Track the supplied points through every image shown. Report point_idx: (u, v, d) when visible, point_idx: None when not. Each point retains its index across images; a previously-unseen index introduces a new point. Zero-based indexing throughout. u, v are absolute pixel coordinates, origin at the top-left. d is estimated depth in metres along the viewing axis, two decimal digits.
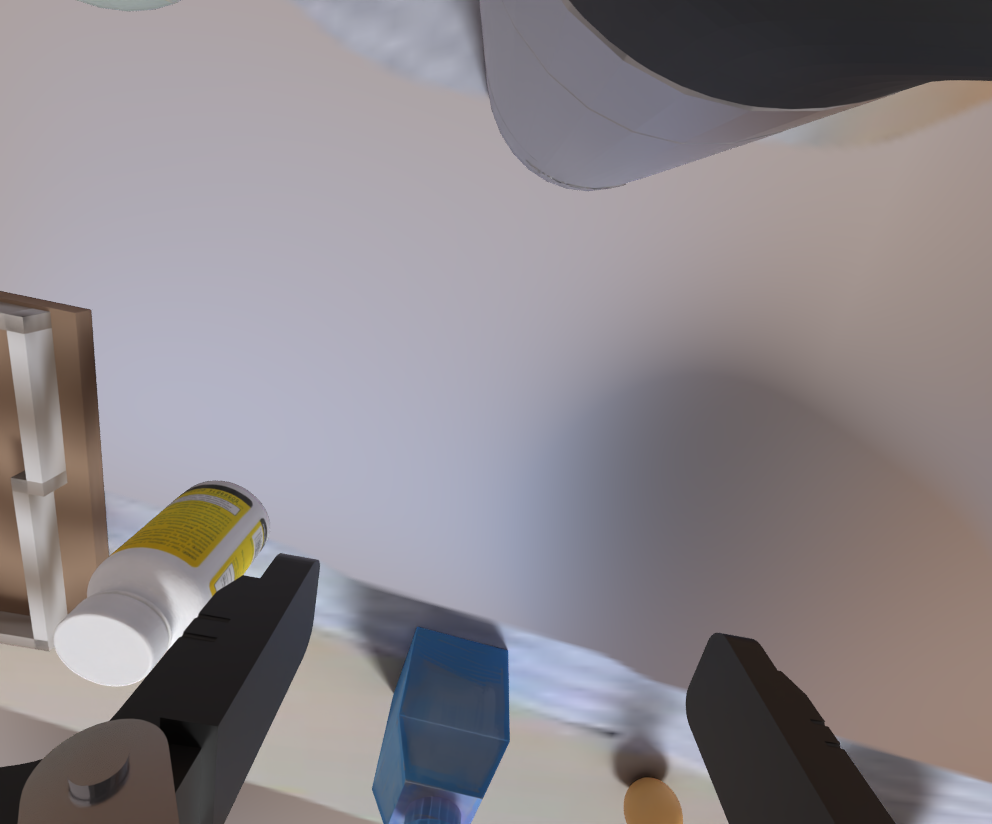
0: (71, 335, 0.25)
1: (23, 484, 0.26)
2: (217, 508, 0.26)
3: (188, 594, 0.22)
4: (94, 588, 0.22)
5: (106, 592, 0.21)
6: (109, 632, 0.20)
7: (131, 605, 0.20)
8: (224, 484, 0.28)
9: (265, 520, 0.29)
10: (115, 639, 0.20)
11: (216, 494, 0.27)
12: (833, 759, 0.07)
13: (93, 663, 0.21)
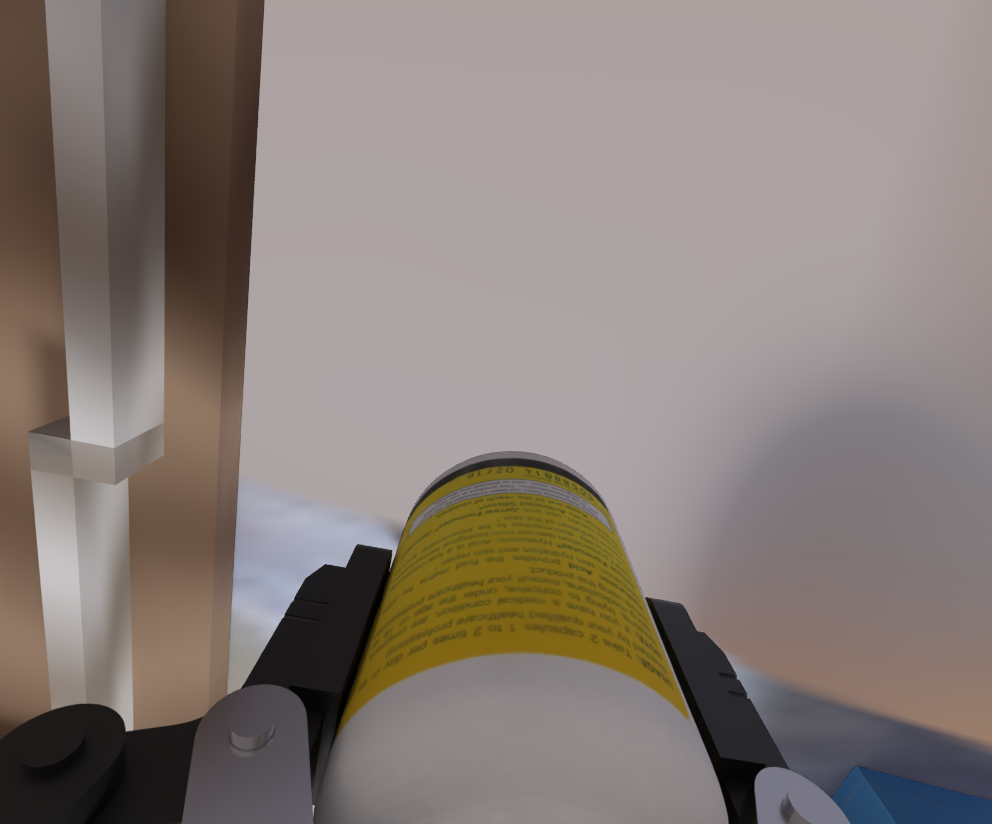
0: (219, 15, 0.09)
1: (61, 452, 0.10)
2: (582, 515, 0.10)
3: None
4: None
5: None
6: None
7: None
8: (539, 458, 0.12)
9: None
10: None
11: (548, 479, 0.11)
12: (731, 703, 0.08)
13: None
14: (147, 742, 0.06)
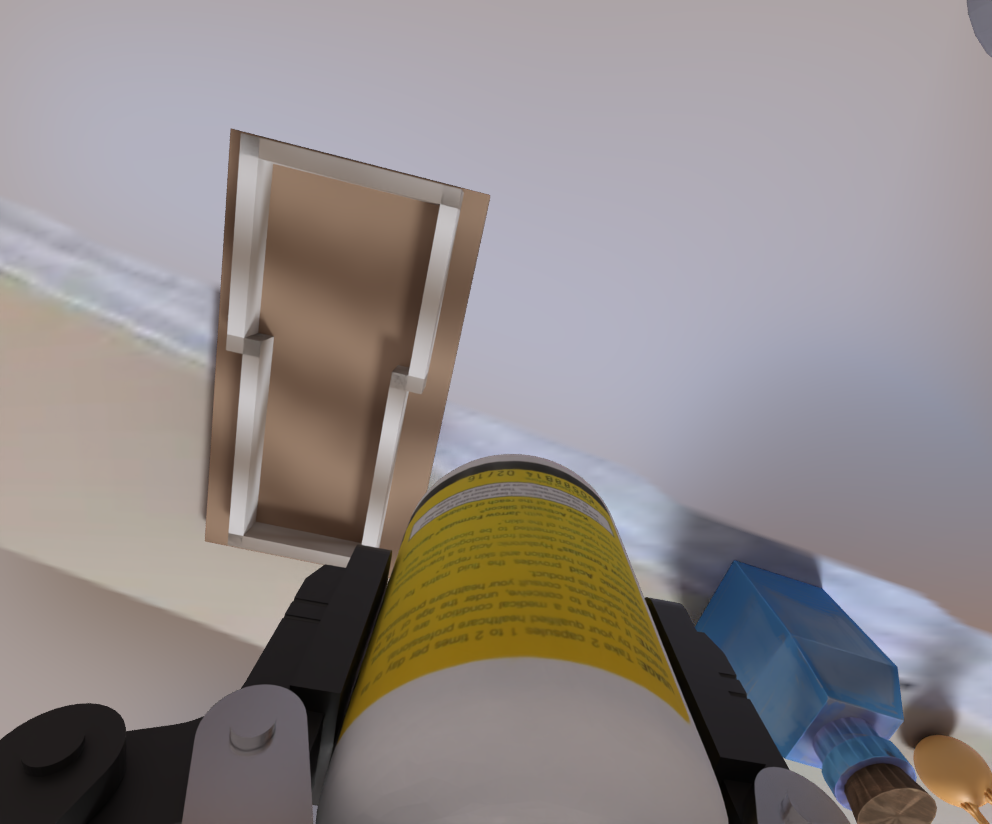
0: (478, 220, 0.24)
1: (402, 380, 0.25)
2: (583, 518, 0.10)
3: None
4: None
5: None
6: None
7: None
8: (540, 461, 0.12)
9: None
10: None
11: (549, 482, 0.11)
12: (731, 703, 0.08)
13: None
14: (147, 744, 0.06)
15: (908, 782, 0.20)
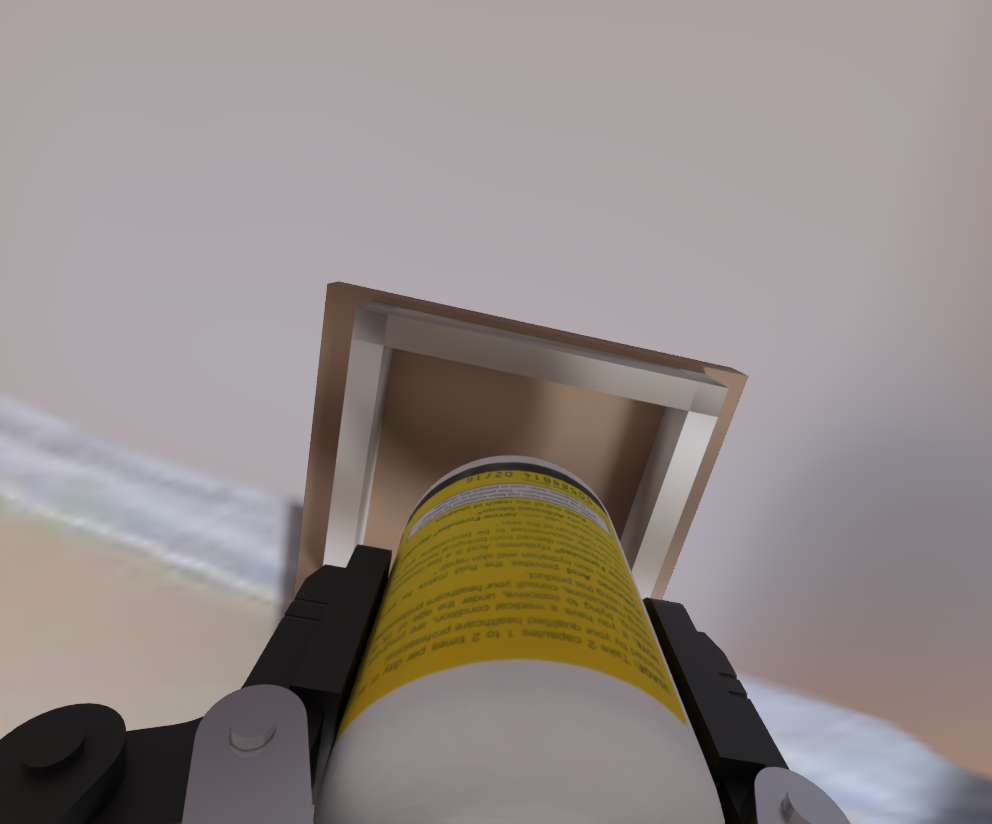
0: (723, 412, 0.15)
1: None
2: (581, 519, 0.10)
3: None
4: None
5: None
6: None
7: None
8: (538, 463, 0.12)
9: None
10: None
11: (547, 483, 0.11)
12: (731, 703, 0.08)
13: None
14: (147, 743, 0.06)
15: None
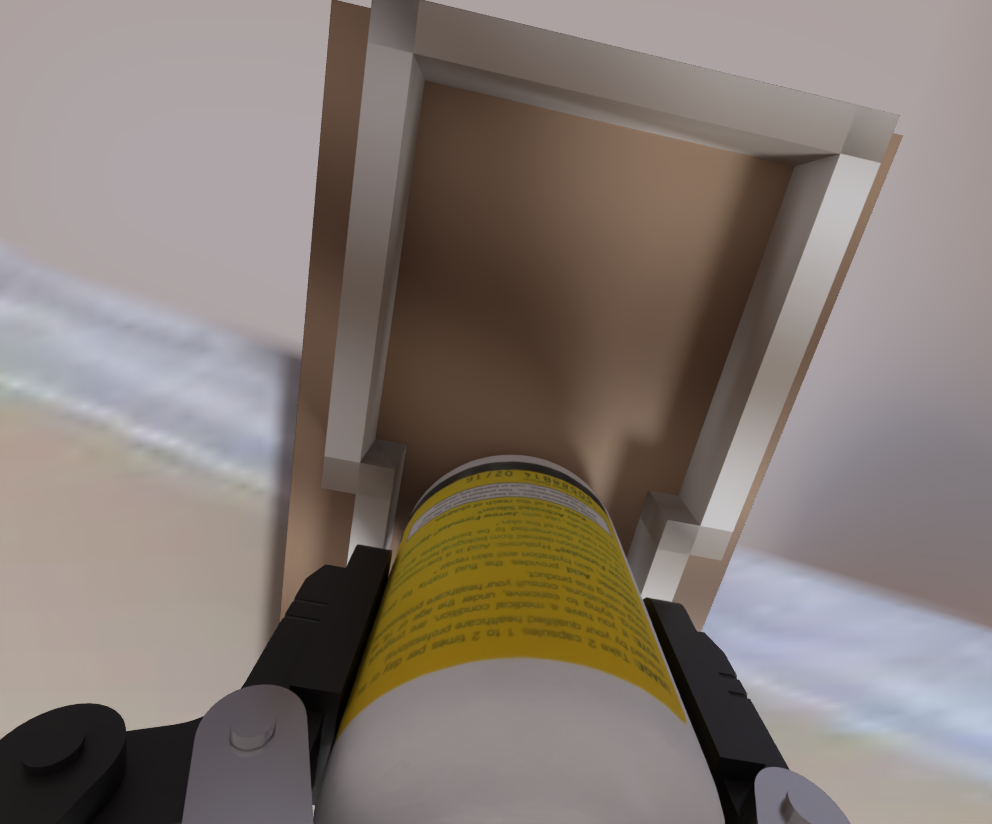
0: None
1: (687, 535, 0.12)
2: (581, 519, 0.10)
3: None
4: None
5: None
6: None
7: None
8: (538, 462, 0.12)
9: None
10: None
11: (546, 483, 0.11)
12: (731, 703, 0.08)
13: None
14: (146, 743, 0.06)
15: None
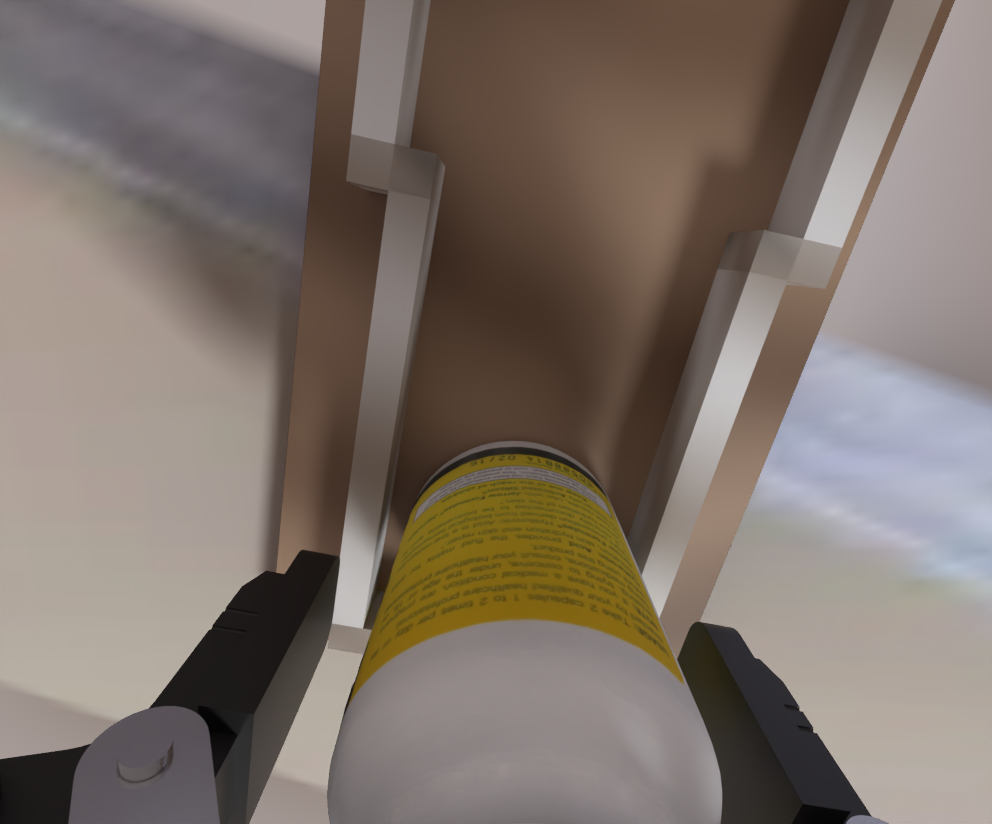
0: None
1: (787, 252, 0.10)
2: (582, 499, 0.10)
3: (713, 793, 0.06)
4: (385, 784, 0.06)
5: None
6: None
7: None
8: (540, 447, 0.12)
9: None
10: None
11: (549, 466, 0.11)
12: (804, 741, 0.08)
13: None
14: (31, 771, 0.05)
15: None
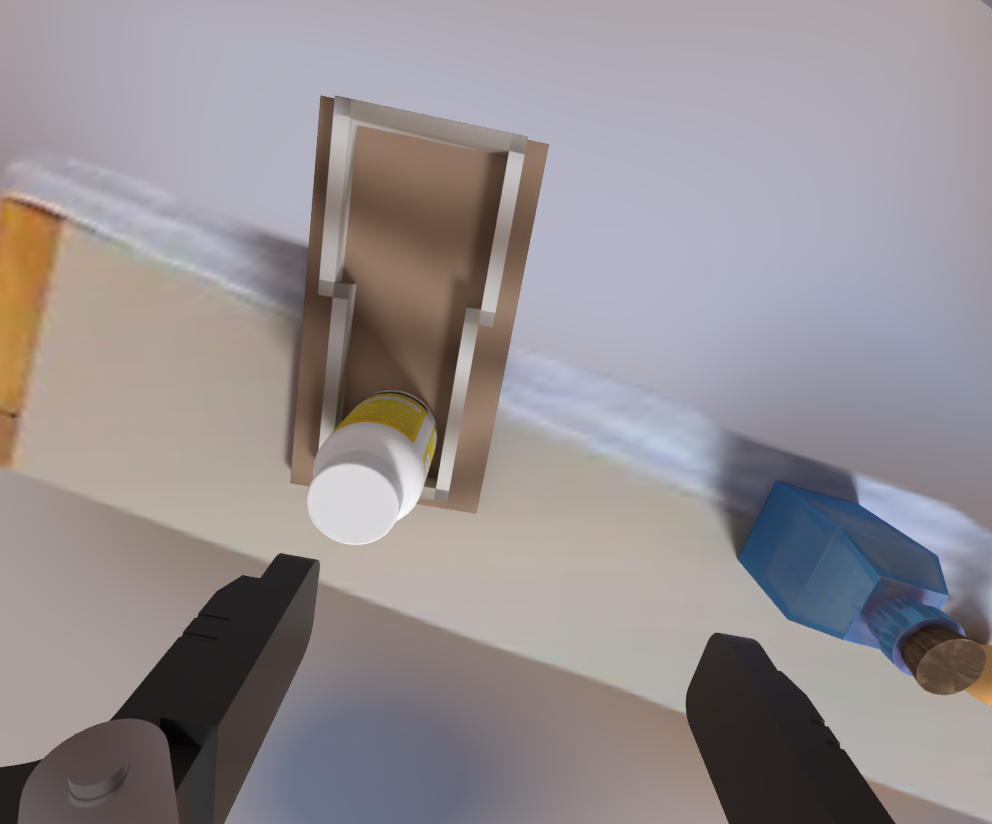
0: (538, 167, 0.27)
1: (476, 315, 0.27)
2: (406, 405, 0.28)
3: (413, 464, 0.23)
4: (326, 458, 0.23)
5: (349, 452, 0.22)
6: (362, 483, 0.21)
7: (377, 461, 0.22)
8: (400, 392, 0.29)
9: (436, 428, 0.30)
10: (366, 491, 0.21)
11: (399, 396, 0.28)
12: (833, 759, 0.07)
13: (341, 518, 0.22)
14: None
15: (960, 635, 0.23)
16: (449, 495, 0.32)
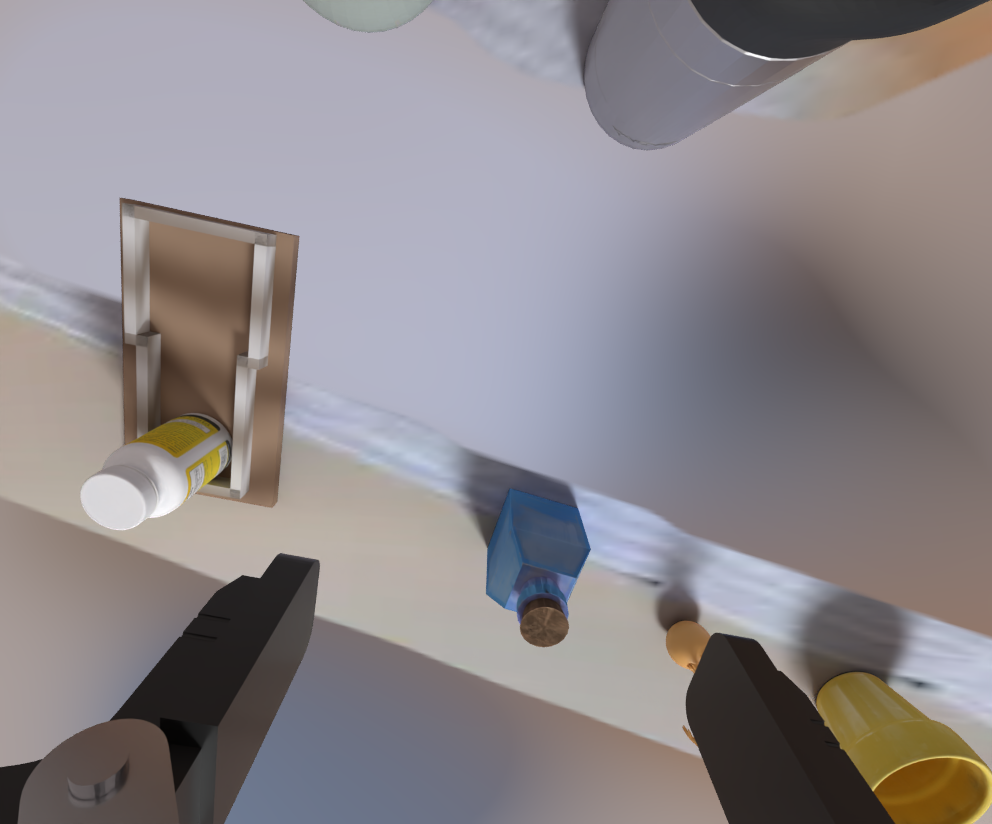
0: (288, 252, 0.36)
1: (245, 360, 0.36)
2: (193, 427, 0.37)
3: (171, 473, 0.33)
4: (107, 468, 0.32)
5: (115, 465, 0.31)
6: (117, 488, 0.31)
7: (132, 472, 0.31)
8: (199, 414, 0.39)
9: (229, 442, 0.39)
10: (121, 493, 0.31)
11: (193, 419, 0.38)
12: (833, 759, 0.07)
13: (106, 511, 0.31)
14: None
15: (549, 605, 0.32)
16: (249, 493, 0.41)
